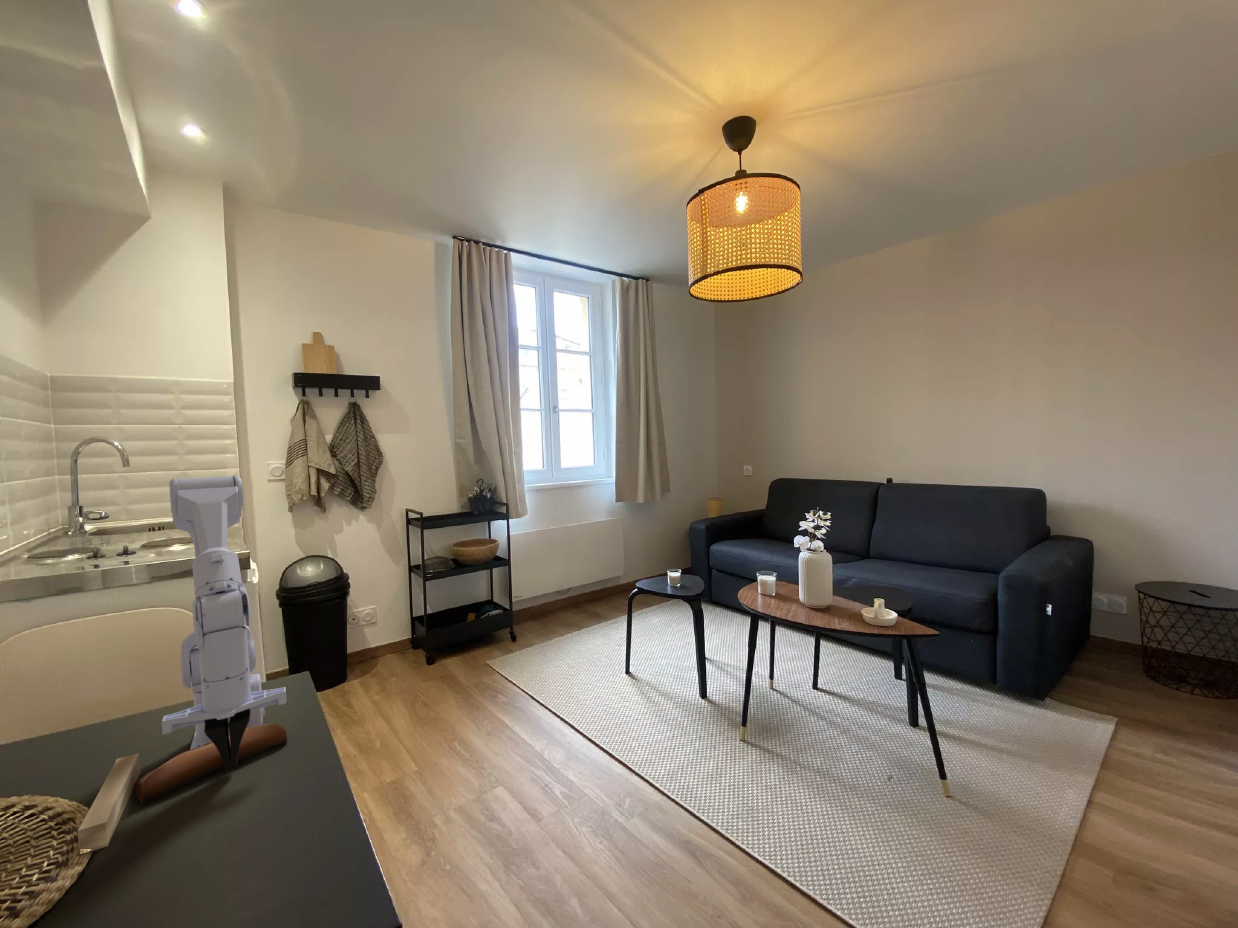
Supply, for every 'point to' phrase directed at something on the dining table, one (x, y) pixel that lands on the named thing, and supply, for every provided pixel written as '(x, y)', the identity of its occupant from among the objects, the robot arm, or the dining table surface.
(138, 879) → the dining table surface
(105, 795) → the bar
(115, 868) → the dining table surface
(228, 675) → the robot arm
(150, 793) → the sunglasses case
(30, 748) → the dining table surface
